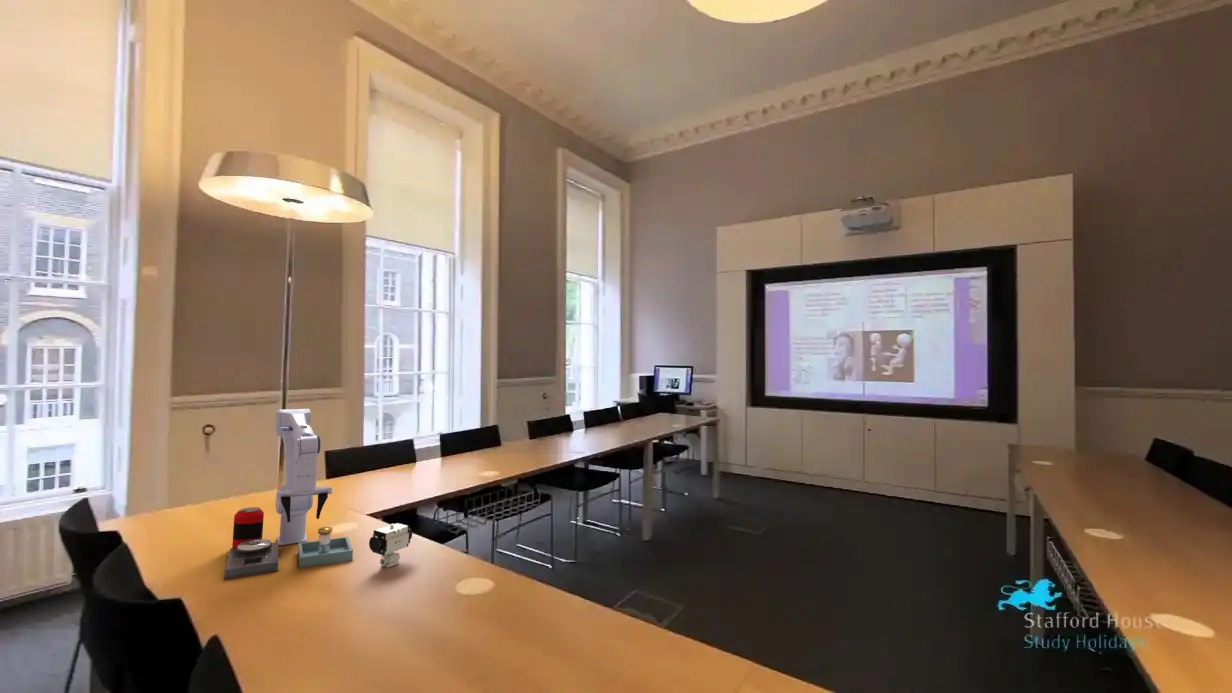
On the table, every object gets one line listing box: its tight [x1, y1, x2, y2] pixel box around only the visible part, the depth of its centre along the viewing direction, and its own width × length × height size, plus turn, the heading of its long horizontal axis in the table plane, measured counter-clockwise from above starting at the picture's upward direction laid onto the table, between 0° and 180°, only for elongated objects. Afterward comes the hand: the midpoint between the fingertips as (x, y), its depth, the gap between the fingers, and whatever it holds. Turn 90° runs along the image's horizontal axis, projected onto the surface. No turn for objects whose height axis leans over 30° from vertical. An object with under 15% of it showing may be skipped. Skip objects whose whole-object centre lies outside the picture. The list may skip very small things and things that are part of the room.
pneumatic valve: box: [368, 522, 413, 569], centre depth 153 cm, size 6×12×12 cm, turn 152°
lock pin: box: [317, 526, 333, 554], centre depth 157 cm, size 4×4×8 cm
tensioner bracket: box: [224, 538, 279, 580], centre depth 150 cm, size 18×12×6 cm, turn 33°
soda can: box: [231, 506, 265, 548], centre depth 161 cm, size 8×8×12 cm
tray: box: [297, 536, 354, 569], centre depth 157 cm, size 14×14×3 cm
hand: (303, 519), depth 159 cm, fingers open, 7 cm apart
